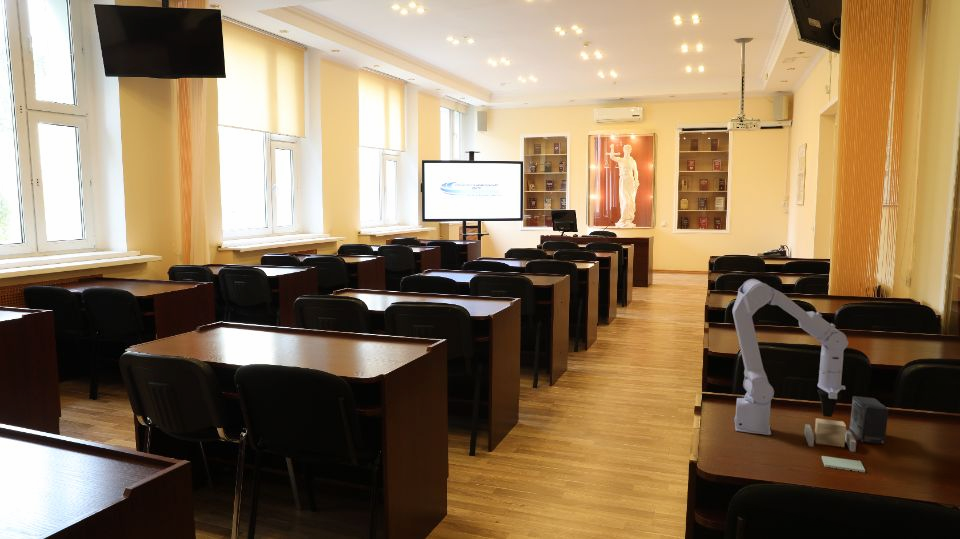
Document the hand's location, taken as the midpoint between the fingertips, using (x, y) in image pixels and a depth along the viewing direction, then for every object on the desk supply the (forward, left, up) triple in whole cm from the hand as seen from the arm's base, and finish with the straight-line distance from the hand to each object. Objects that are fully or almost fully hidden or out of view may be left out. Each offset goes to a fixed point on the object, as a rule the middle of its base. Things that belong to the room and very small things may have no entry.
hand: (827, 415), depth 191 cm
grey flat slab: (0, -7, -5) cm, 9 cm away
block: (0, -7, -6) cm, 9 cm away
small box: (+11, +2, -6) cm, 13 cm away
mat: (+1, -23, -5) cm, 24 cm away
